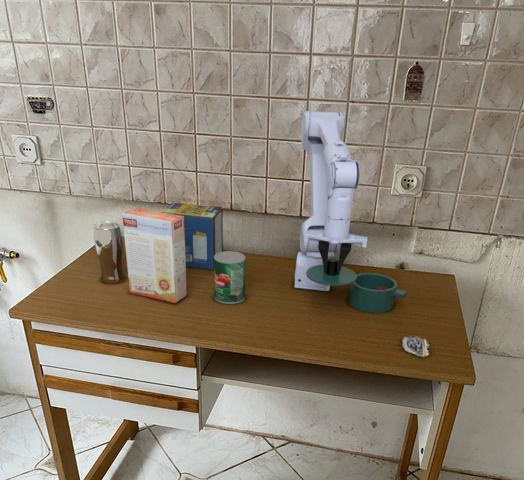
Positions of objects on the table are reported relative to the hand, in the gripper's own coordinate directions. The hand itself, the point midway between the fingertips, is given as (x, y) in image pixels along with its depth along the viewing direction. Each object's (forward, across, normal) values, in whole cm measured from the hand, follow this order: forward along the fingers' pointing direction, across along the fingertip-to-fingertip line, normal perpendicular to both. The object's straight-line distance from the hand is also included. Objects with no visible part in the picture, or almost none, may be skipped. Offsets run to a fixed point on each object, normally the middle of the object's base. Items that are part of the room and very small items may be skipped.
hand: (331, 272), depth 125 cm
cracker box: (+10, -43, -3) cm, 44 cm away
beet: (+7, +13, +6) cm, 16 cm away
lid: (+1, 0, 0) cm, 1 cm away
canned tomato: (+10, -25, 0) cm, 27 cm away
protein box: (+10, -41, +22) cm, 48 cm away
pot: (+10, +11, +6) cm, 16 cm away
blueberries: (+10, +21, -15) cm, 27 cm away
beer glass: (+10, -58, +3) cm, 59 cm away
